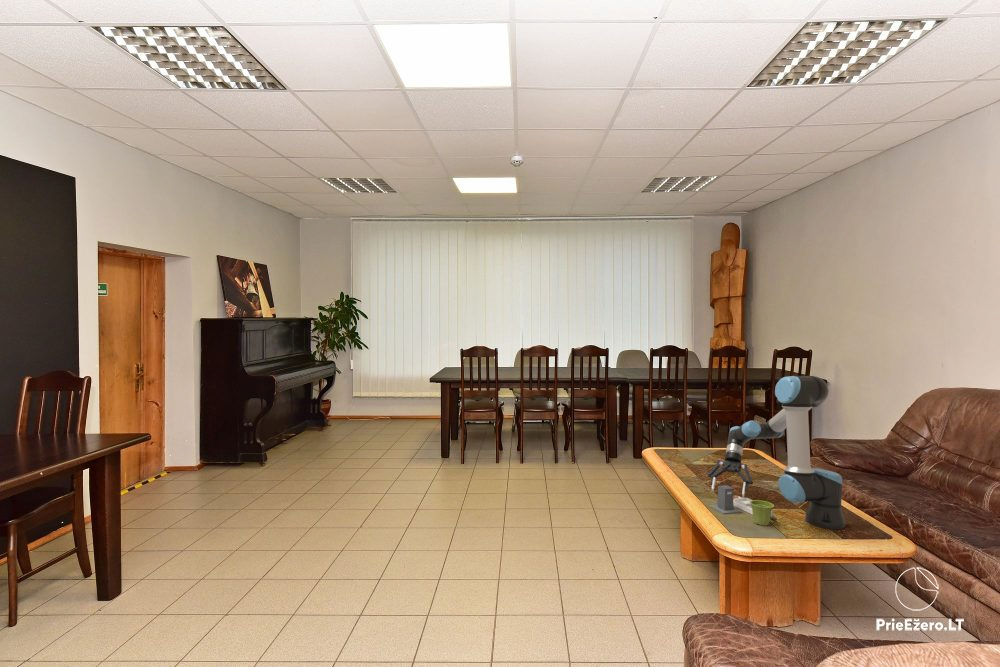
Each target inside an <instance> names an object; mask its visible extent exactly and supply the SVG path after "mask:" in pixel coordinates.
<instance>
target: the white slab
mask: <svg viewBox="0 0 1000 667" xmlns="http://www.w3.org/2000/svg"><path fill="white" fill-rule="evenodd" d="M753 500H754V499H751V498H749V497H742V496H740V495H736V494H735V495H734V500H733V507H735V508H737V509H739V510H741V511H745V512H747V513H748V514H751V515H752V516H753V512H752V507H751V504H750V501H753ZM773 513H774V512H773V510H772V511H771V516H770V520H774V521H777V520H778V518H777V517H775V516H773V515H774V514H773Z"/></svg>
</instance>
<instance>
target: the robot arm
mask: <svg viewBox="0 0 1000 667" xmlns="http://www.w3.org/2000/svg"><path fill="white" fill-rule="evenodd" d="M829 391H830V390H829V386H828V384H827V382H826V381H825V380H823V379H822V378H821V377H819V376H815V375H814V376H813V375H791V376H789V375H788V376H784V377H782V378H780V379H779V380H778V381H777V383H776V384H775V390H774V395H775V397H776V398H777V399H776V400H777V401H778V402H780V403H781V407H782V409H781V410H780V411H778V413H776V414H775V415H774V416H773V417H772V418H769V420H767V422H764V423H763V422H761V423H758V422H757V421H755V420H749V421H746V422H744V423H743V424H742V425H740V426H738V425H736V426H733V427H731V428H730V429H729V432H728V438H727V445H726V450H725V457H724V461H721V460H719V459H717V462H716V464H715V465H714V466H713V467H712V468H711V469H710V470H709V471H708V473H707V476H708V478H709V479H710V485H711V492H712V493H713V492H714V491H715V488H716V482H717V481H716V480H717V478H718V477H720V476H721V475H723V474H724V473H726V472H728V473H733V474H735V473H736V474H737V475H738V476H739V477H740V479H741V480H742V481H743V484H742V492H741V497H742V498H745V494H746V491H747V492H748V490H749V485H752V486H753V485H754V481H753V479H752V476H751V474H750V472H749V468H748V464H742V459H743V452H744V448H745V447H744V446H745V444H746V443H747V442H749V441H750V440H755V439H756V440H757V439H758V440H759V439H760V440H762V439H777V438H781V437H783V435H784V433H785V430H786V446H787V448H786V450H787V452H786V453H787V466H786V467H785V468H784V471H783V472H784V474H782V475H781V476H780V478H778V488H779V491H780V493H781V494H782V495H783V497H784V499H786V500H787V501H789V502H791V503H800V504H801V503H809V502H810V504H809V506H808V507H807V510H806V513H805V515H804V516H805V518H804V519H805V520H804V521H805V522H807V523H808V524H810V525H812V526H815V527H818V528H823V529H828V530H843V529H845V528H846V519H845V518H844V514H843V511H842V497H843V494H842V493H843V486H844V485H843V477H842V475H841V474H839V472H838V473H837V472H835V471H831V470H827V469H824V468H817V467H816V468H813V467H811V449H810V446H811V445H810V424H809V411H810V410H811V409H812V408H817V407H819V406H820V405H822V404H823V403H824V402H825V401H826V400H827V399H828V396H829ZM720 467H722V468H720ZM718 469H719V470H718ZM741 469H742V470H743V471H744V473H745V475H746V476H745V475H744V474H743V472H742V471H741ZM844 527H845V528H844Z"/></svg>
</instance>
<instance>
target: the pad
mask: <svg viewBox="0 0 1000 667" xmlns="http://www.w3.org/2000/svg"><path fill="white" fill-rule="evenodd" d="M708 507H709V508H711V509H712V510H714V511H717V512H718V513H720V514H721V515H729V514H741V513H742V512H743V510H741V509H739V508H737V507H735V506H733V510H725V511H724V510H722V509H720V508H718V504H714V505H713V504H711V505H709V506H708Z"/></svg>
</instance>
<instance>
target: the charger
mask: <svg viewBox="0 0 1000 667" xmlns="http://www.w3.org/2000/svg"><path fill="white" fill-rule="evenodd" d="M734 490H735V488H733V487H732V486H729V485H718V486H717V505H718V508H720V509H722V510H724V511H725V510H733V507H734V505H733V500H734V494H735V493H734V492H735V491H734Z"/></svg>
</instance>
